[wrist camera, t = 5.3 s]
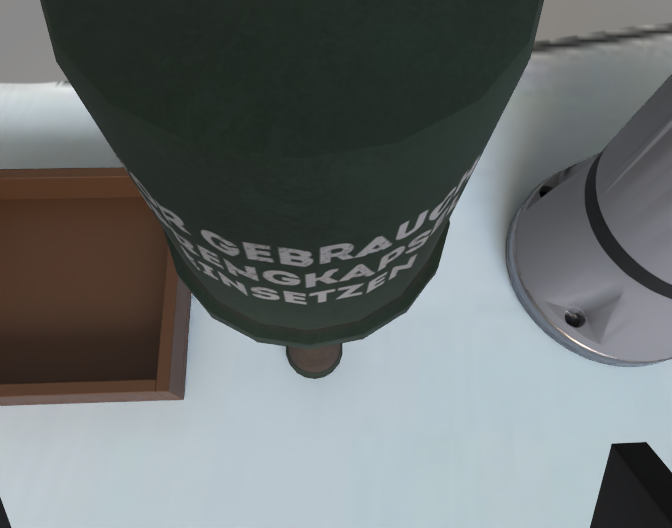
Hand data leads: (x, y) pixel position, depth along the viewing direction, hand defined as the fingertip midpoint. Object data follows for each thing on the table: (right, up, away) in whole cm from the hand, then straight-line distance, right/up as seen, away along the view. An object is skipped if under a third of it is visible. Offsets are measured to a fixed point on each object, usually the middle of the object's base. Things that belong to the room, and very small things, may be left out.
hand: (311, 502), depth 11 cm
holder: (-18, +3, +25) cm, 31 cm away
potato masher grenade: (-1, -1, +24) cm, 25 cm away
